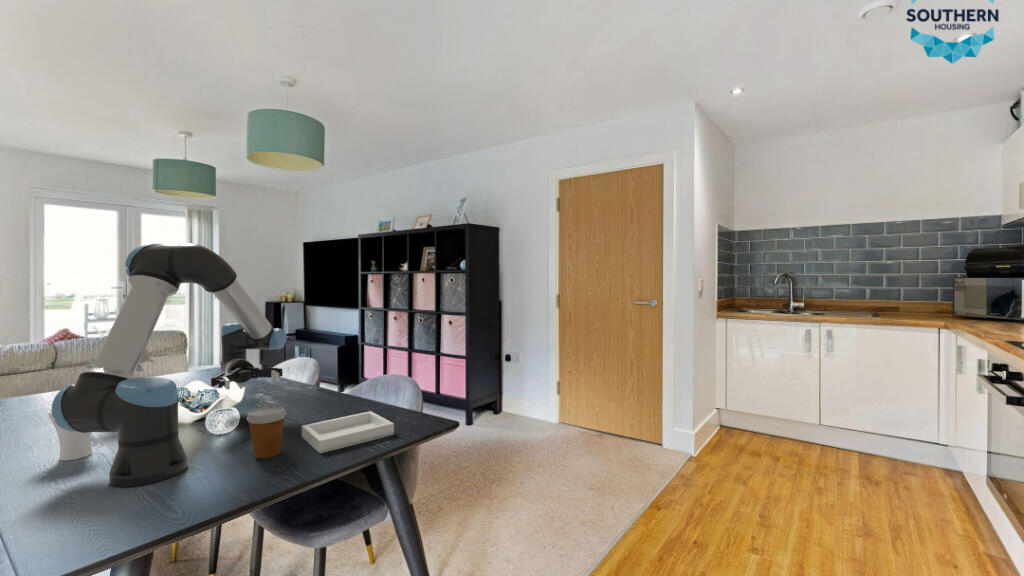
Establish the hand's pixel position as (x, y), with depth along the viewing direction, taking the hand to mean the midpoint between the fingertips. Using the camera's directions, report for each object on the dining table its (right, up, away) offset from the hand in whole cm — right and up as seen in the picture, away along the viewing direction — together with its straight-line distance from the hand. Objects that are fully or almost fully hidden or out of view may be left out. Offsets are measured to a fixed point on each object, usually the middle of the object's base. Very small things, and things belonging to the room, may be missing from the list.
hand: (253, 381), depth 138 cm
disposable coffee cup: (+13, -17, -16) cm, 26 cm away
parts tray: (+30, -16, -2) cm, 34 cm away
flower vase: (-53, -17, +15) cm, 58 cm away
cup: (-40, -18, -16) cm, 46 cm away
